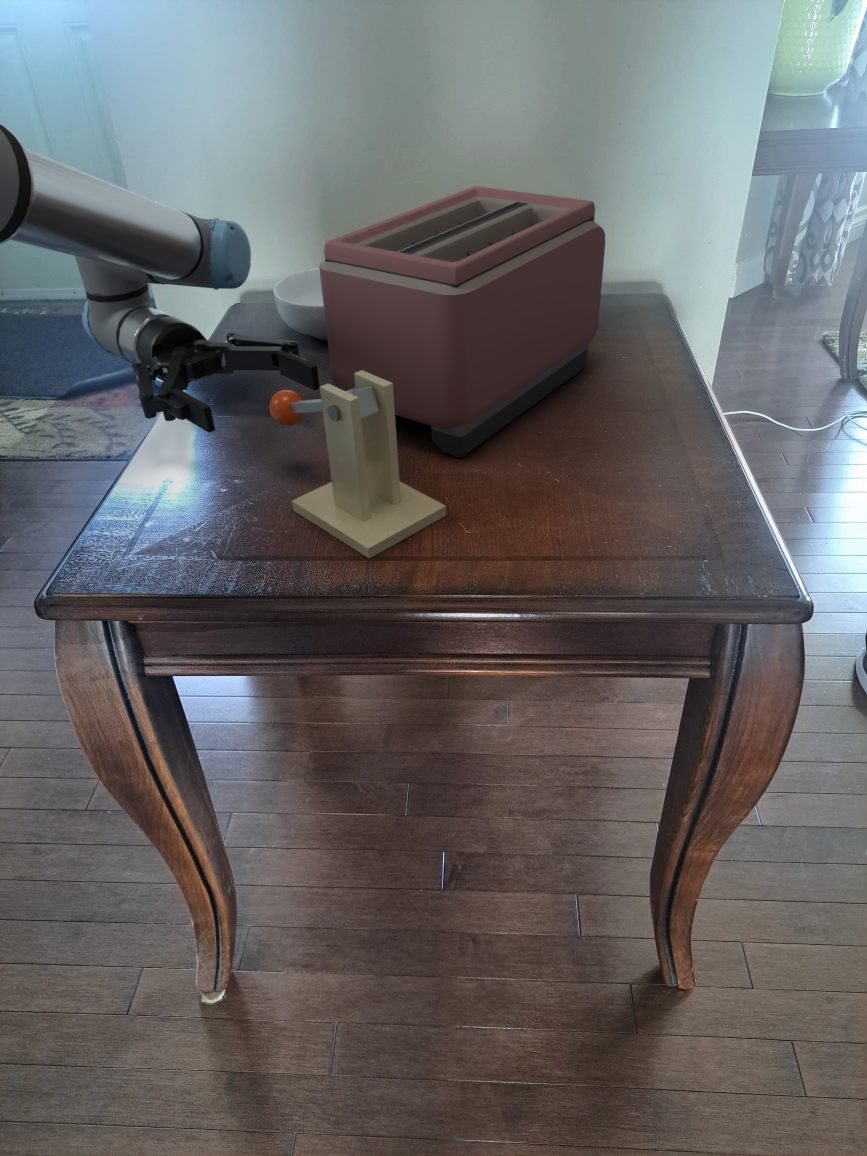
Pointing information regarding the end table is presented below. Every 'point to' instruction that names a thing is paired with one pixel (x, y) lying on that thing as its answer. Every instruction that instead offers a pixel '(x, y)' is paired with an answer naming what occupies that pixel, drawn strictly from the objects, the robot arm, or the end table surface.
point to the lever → (315, 405)
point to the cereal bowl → (302, 303)
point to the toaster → (466, 306)
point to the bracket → (365, 475)
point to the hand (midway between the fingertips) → (265, 398)
